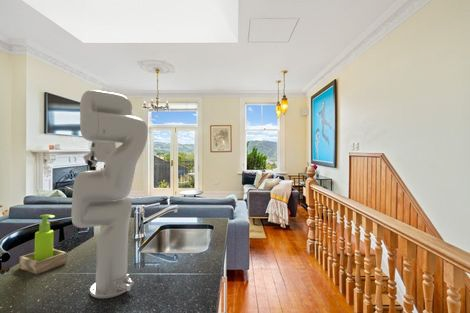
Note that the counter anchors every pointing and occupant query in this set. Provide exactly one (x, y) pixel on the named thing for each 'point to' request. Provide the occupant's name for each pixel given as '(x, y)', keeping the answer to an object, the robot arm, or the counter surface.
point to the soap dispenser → (44, 239)
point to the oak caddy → (42, 262)
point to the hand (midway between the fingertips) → (102, 175)
